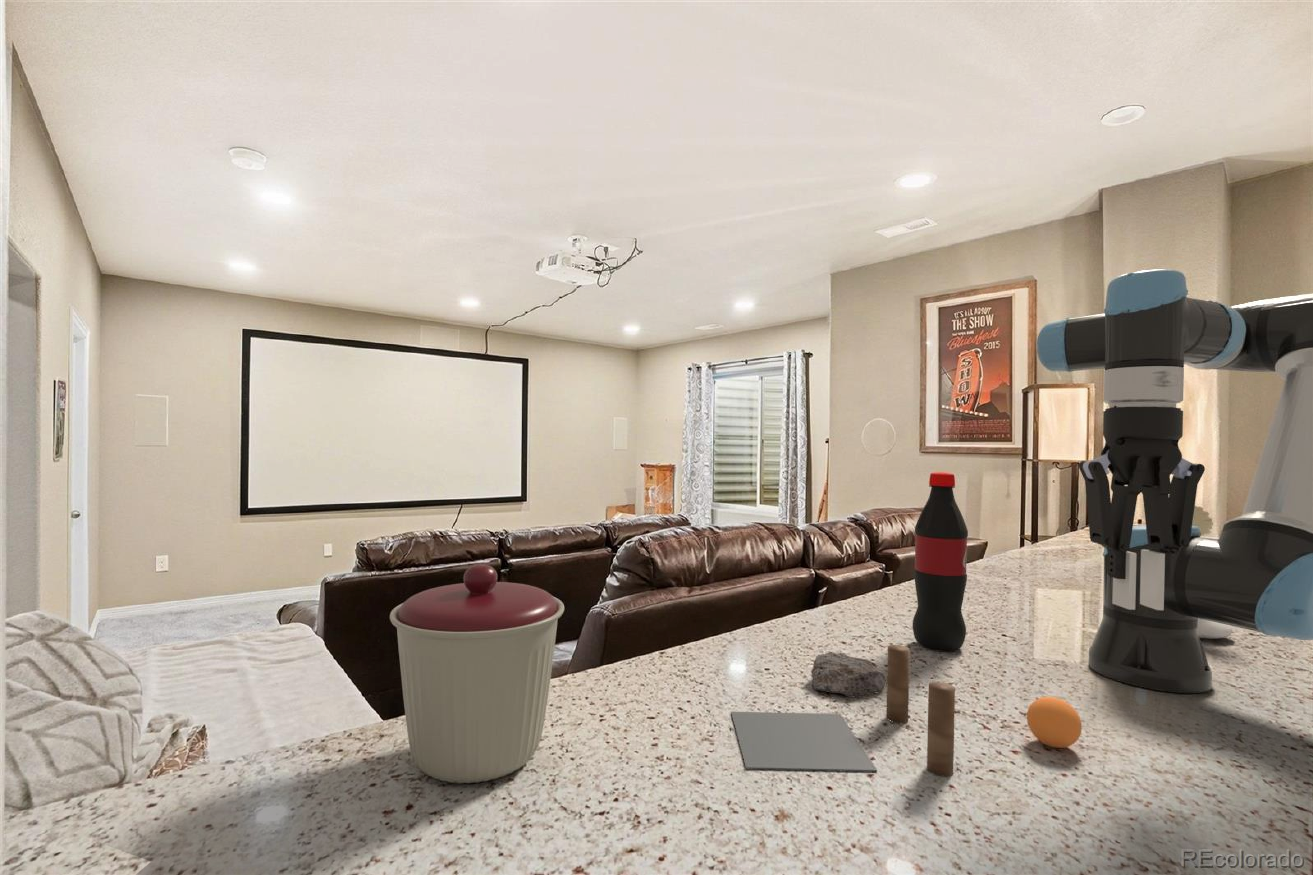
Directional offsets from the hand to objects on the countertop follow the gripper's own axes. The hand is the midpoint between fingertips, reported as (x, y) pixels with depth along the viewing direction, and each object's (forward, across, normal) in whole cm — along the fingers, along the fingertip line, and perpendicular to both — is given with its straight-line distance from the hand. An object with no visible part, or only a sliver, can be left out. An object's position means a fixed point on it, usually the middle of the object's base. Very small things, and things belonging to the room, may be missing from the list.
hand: (1137, 606), depth 76 cm
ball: (+14, -10, 0) cm, 17 cm away
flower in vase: (+17, +44, +47) cm, 67 cm away
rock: (+17, -29, +17) cm, 37 cm away
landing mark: (+17, -40, 0) cm, 43 cm away
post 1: (+17, -26, +6) cm, 31 cm away
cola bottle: (+17, -8, +36) cm, 40 cm away
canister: (+17, -76, -6) cm, 78 cm away
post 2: (+17, -26, -6) cm, 31 cm away
